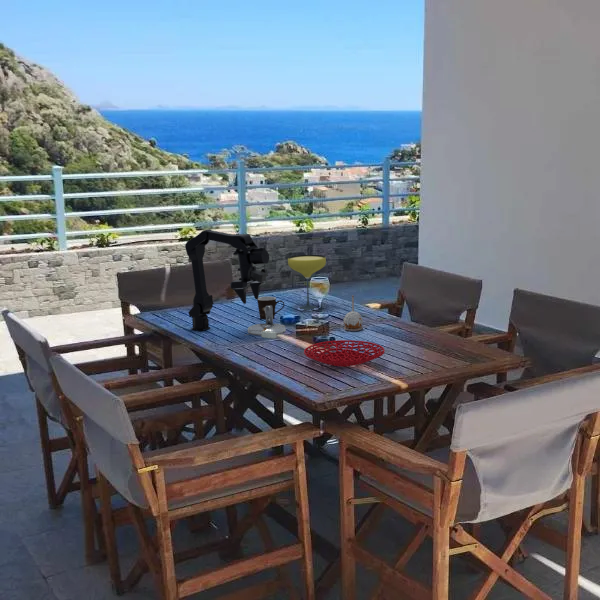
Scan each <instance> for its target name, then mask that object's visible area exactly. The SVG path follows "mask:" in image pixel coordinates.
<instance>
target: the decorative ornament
mask: <svg viewBox="0 0 600 600" xmlns="http://www.w3.org/2000/svg"><path fill="white" fill-rule="evenodd" d="M354 297H355V296H354V295H353V294H352V295H351V311H349V312H348V313H346V314H345V315H344V318H343V325H344V327H343V329H344V330H345V331H348V332H356V331H361V330H363V326H362V325H363V318H362V315H361V314H360V313H359V312H357V311H355V308H354V307H355V304H354V303H355V300H354Z"/></svg>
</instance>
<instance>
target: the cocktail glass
mask: <svg viewBox="0 0 600 600" xmlns="http://www.w3.org/2000/svg"><path fill="white" fill-rule="evenodd" d="M326 259H327V258H326V256H324V255H322V254H321V255H319V254H300V255H293V256H289V257H288V258H287V265H288V267H289V268H290V269H291V270H293V271H294V272H297V273H300V274H301V275H302V276H303V277H304V278H305V279H306V305H302V306H299V308H300V309H304V310H310V309H314V308H316V305H311V304H310V295H309V294H310V293H309V279H310V278H311V276H312V275H313V274H315V273H316V272H318V271H320V270H321V269H323V268H324V267H325V266H326V265H327V264H326V263H327V260H326Z"/></svg>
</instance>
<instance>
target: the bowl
mask: <svg viewBox="0 0 600 600" xmlns="http://www.w3.org/2000/svg"><path fill="white" fill-rule="evenodd" d="M323 347H324V348H323ZM331 347H333V348H331ZM354 349H356V350H354ZM333 351H334V352H333ZM385 352H386V351H385V348H384V347H383V346H382V345H380V344H377V343H374V342H371V341H365V340H364V341H363V340H354V339H353V340H350V339H342V340H338V339H337V340H329V341H322V342H318V343H313V344H311V345H309V346H307V347H305V349H304V351H303V353H304V354H303V355H305V356H306V357H307V358H309V359H312V360H315V361H316V362H319V363H322V364H326V365H330V366H333V367H334V366H335V367H341V368H342V367H353V366H359V365H361V364H364V363H368V362H370V361H372V360H375V359H377V358H380V357H382V356H383V355H384V354H385Z"/></svg>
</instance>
